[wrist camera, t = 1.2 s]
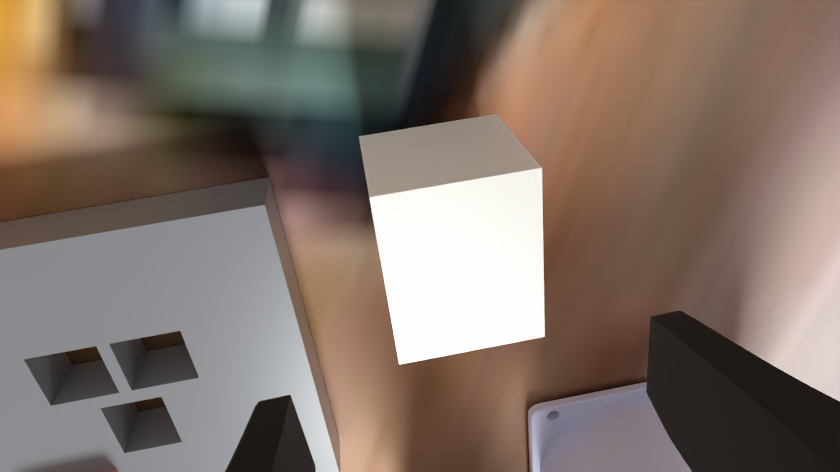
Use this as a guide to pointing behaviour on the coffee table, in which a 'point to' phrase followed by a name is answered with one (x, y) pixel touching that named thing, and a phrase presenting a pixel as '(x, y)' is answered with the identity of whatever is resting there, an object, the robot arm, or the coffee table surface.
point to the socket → (153, 334)
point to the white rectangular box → (457, 235)
